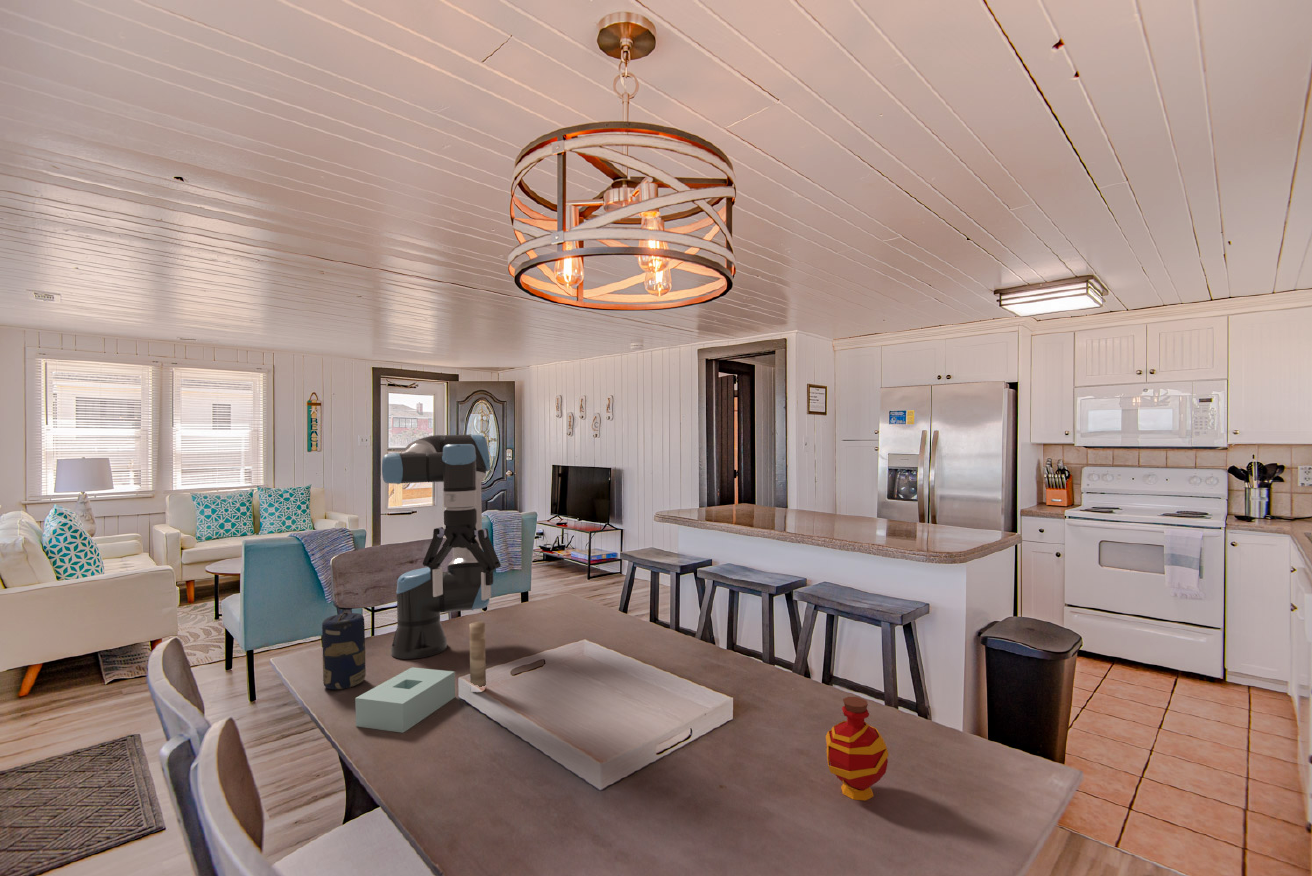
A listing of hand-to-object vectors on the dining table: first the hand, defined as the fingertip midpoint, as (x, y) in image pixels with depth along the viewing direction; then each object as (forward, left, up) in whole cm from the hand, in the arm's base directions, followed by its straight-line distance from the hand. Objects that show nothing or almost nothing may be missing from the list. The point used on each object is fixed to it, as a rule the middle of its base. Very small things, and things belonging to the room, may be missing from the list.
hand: (461, 597), depth 144 cm
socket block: (+11, -7, -23) cm, 26 cm away
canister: (+2, -33, -23) cm, 40 cm away
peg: (-3, +2, -23) cm, 23 cm away
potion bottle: (+19, +89, -23) cm, 94 cm away
